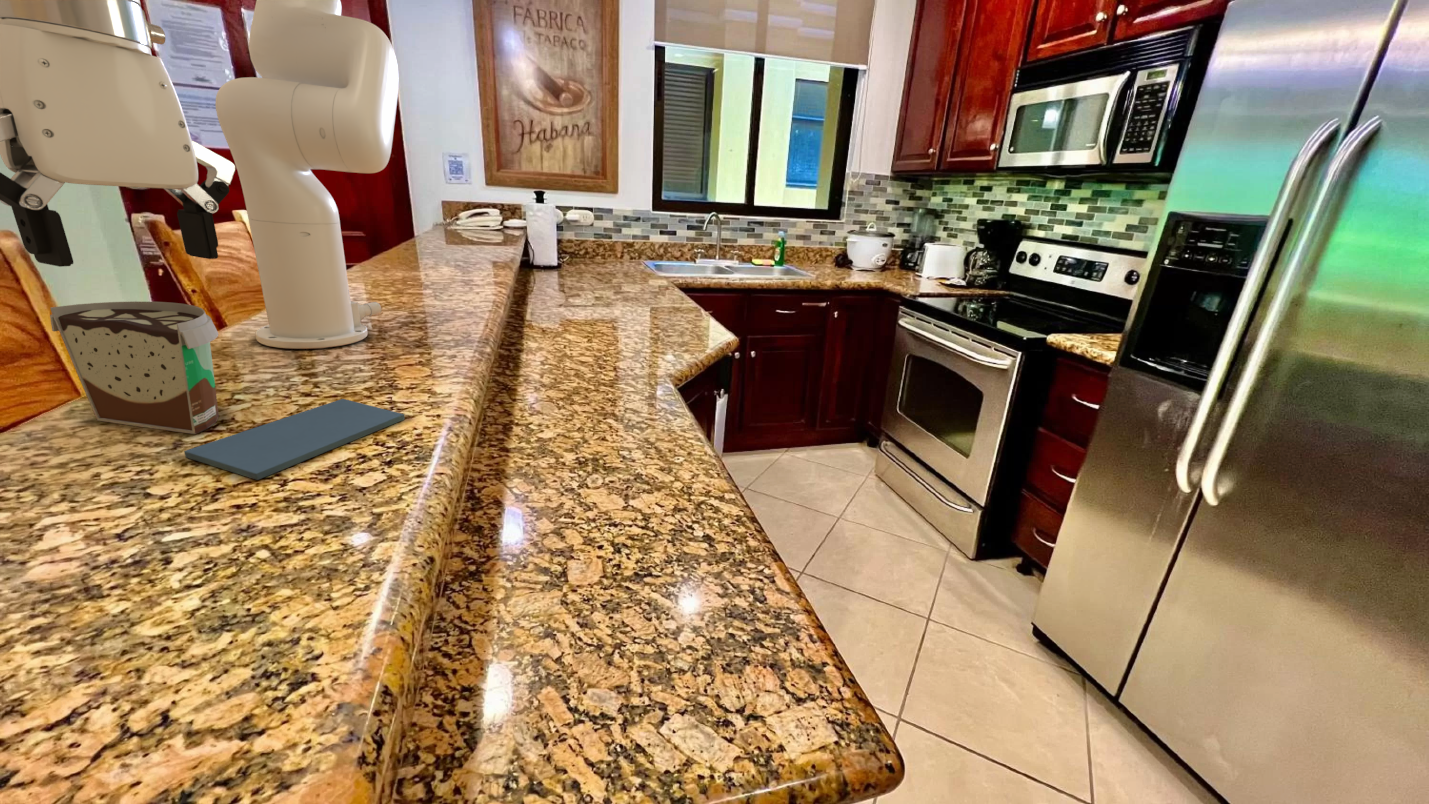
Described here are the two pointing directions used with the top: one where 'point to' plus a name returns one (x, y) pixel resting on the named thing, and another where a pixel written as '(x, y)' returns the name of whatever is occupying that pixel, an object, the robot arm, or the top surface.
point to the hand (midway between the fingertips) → (135, 260)
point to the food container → (143, 362)
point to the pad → (293, 438)
